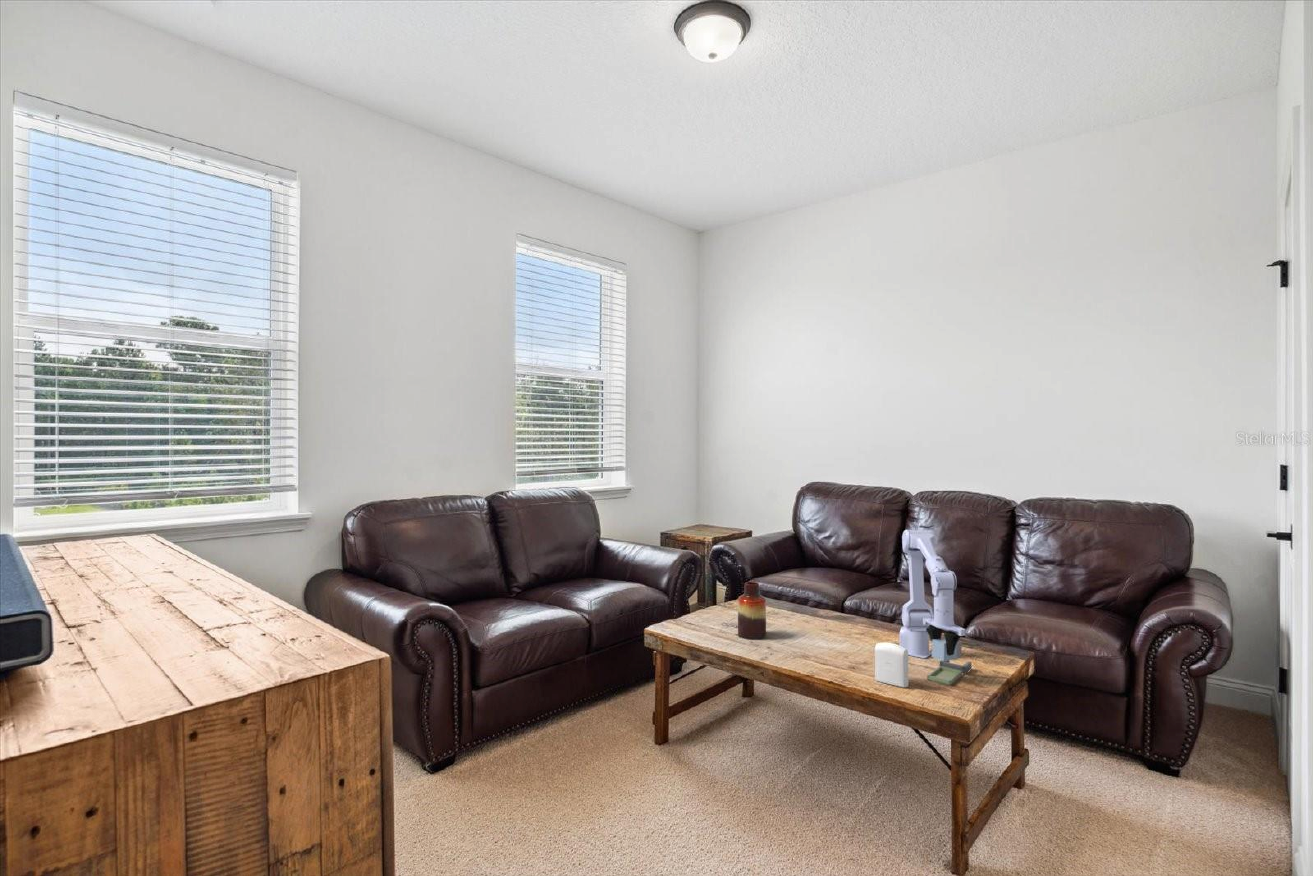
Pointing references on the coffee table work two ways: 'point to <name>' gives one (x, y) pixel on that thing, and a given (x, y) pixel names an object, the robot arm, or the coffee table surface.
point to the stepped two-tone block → (945, 650)
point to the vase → (751, 613)
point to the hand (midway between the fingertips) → (943, 652)
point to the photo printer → (891, 664)
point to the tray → (944, 675)
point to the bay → (956, 666)
